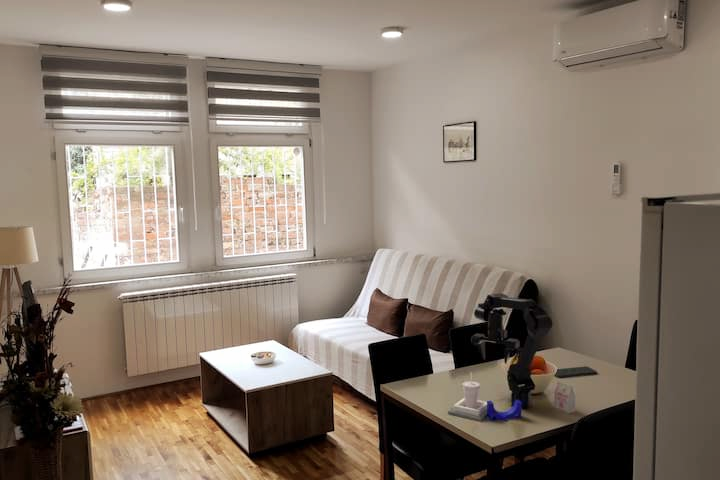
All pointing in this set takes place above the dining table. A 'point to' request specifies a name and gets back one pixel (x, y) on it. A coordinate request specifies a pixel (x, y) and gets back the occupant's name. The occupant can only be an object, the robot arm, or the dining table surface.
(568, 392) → the milk carton
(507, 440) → the dining table surface
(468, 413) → the socket plate
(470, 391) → the smoothie
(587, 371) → the smart home device
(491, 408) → the cable clip
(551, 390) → the dining table surface
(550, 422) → the dining table surface
